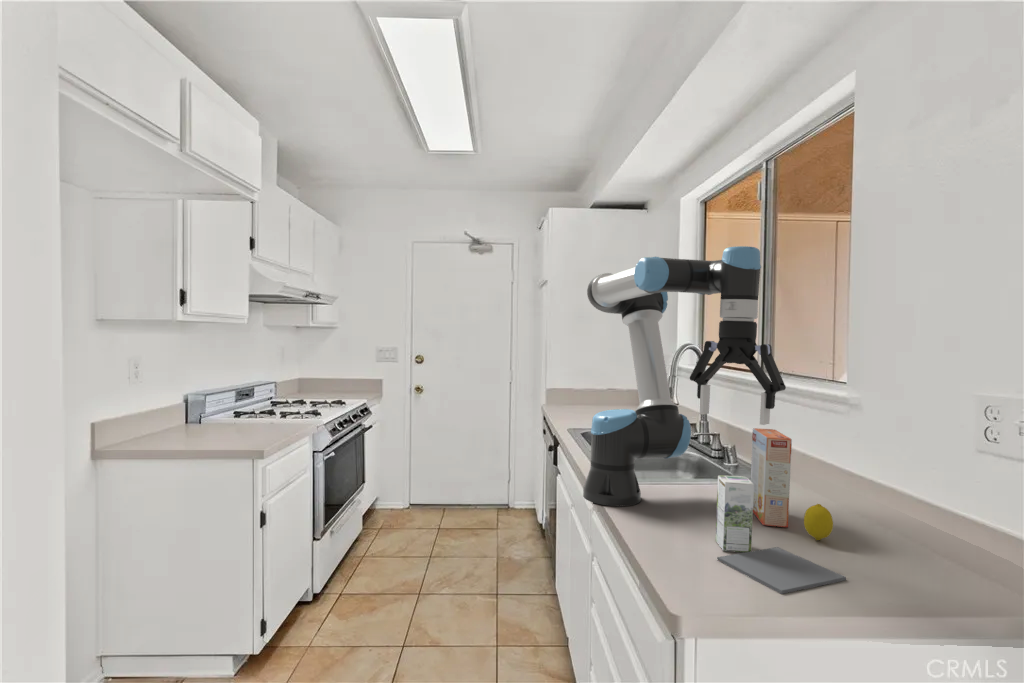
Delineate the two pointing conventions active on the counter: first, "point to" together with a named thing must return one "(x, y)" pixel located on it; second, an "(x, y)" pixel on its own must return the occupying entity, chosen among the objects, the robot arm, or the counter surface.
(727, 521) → the syrup box
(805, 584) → the mat
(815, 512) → the lemon
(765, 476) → the cracker box
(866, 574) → the counter surface
